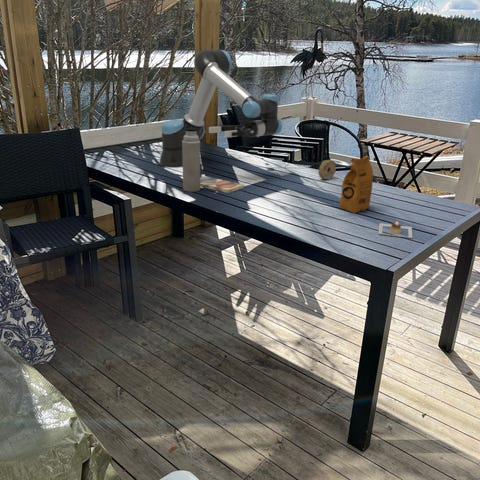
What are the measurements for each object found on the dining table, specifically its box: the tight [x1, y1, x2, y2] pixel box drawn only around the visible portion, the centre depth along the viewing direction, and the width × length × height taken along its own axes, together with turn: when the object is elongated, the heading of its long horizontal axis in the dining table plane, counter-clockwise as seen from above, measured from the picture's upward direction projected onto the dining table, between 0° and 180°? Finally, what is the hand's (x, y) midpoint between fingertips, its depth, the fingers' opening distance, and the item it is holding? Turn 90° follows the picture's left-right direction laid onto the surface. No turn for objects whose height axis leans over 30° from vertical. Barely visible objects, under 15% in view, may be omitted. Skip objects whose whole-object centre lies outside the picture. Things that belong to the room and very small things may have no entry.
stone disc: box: [318, 159, 337, 180], centre depth 252 cm, size 10×4×10 cm, turn 128°
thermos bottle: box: [182, 128, 201, 193], centre depth 225 cm, size 8×8×28 cm
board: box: [200, 175, 245, 194], centre depth 236 cm, size 24×12×2 cm, turn 54°
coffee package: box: [339, 155, 374, 214], centre depth 206 cm, size 10×12×22 cm
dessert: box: [378, 220, 413, 239], centre depth 185 cm, size 12×12×5 cm
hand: (216, 132), depth 229 cm, fingers open, 13 cm apart
